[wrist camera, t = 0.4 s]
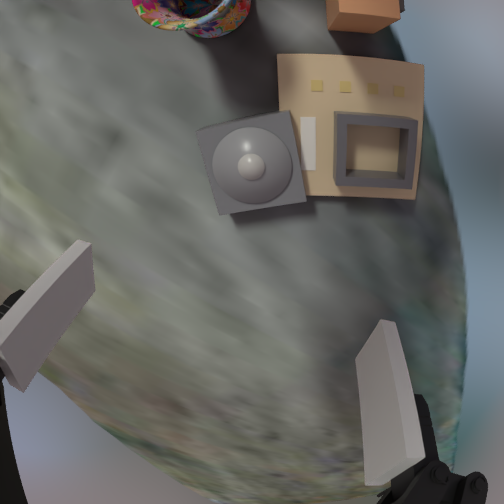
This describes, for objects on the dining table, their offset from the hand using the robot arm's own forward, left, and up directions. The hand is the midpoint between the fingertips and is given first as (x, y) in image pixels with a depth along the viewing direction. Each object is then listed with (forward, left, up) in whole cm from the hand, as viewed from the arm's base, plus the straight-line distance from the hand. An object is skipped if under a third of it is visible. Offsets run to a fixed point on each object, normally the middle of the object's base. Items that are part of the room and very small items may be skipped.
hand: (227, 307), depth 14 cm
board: (-4, +9, -26) cm, 28 cm away
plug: (-17, +9, -26) cm, 32 cm away
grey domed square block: (0, -2, -26) cm, 26 cm away
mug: (-20, -6, -26) cm, 33 cm away
